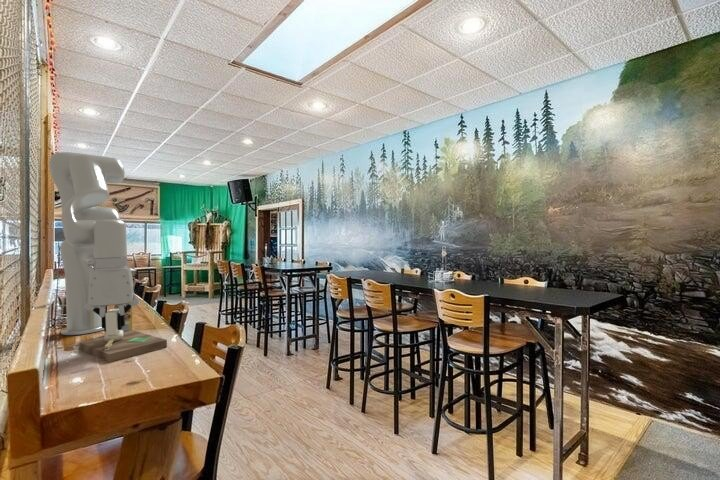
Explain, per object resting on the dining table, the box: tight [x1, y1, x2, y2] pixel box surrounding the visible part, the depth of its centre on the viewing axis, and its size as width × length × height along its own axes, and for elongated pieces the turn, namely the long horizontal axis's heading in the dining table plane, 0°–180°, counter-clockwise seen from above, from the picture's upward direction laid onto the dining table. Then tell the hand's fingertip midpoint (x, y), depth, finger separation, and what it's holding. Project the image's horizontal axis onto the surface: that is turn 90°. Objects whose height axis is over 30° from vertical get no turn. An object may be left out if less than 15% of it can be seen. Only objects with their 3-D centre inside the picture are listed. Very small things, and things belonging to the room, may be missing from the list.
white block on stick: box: [103, 308, 123, 348], centre depth 98 cm, size 13×4×8 cm, turn 25°
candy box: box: [113, 301, 133, 333], centre depth 116 cm, size 9×4×15 cm, turn 39°
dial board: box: [78, 330, 168, 363], centre depth 100 cm, size 20×14×2 cm
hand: (113, 329), depth 101 cm, fingers closed on white block on stick, 2 cm apart
